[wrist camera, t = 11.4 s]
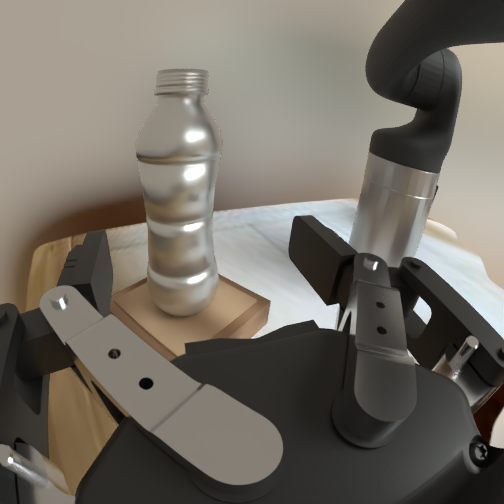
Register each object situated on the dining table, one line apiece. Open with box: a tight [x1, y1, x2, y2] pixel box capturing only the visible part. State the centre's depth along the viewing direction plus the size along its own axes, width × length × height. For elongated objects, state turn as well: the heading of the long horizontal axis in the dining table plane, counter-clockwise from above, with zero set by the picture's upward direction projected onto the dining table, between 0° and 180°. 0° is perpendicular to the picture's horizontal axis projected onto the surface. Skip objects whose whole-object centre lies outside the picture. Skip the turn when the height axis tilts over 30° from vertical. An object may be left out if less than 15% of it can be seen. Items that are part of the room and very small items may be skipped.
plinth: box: [110, 274, 271, 361], centre depth 28 cm, size 12×12×3 cm
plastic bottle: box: [135, 69, 223, 316], centre depth 22 cm, size 6×7×20 cm
